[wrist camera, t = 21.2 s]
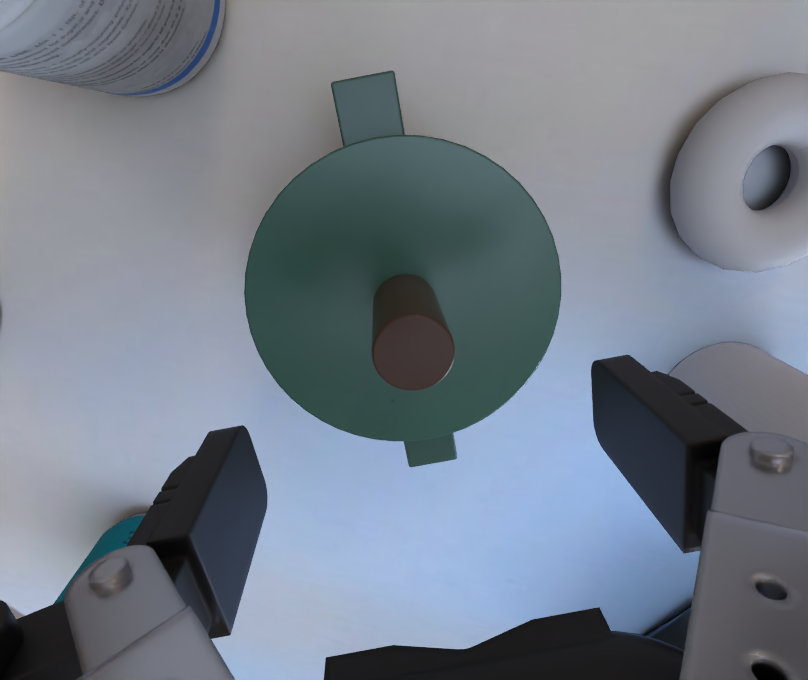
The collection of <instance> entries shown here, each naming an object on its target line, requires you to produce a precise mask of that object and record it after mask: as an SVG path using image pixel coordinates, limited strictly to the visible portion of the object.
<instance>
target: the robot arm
mask: <svg viewBox="0 0 808 680" xmlns="http://www.w3.org/2000/svg"><path fill="white" fill-rule="evenodd" d="M591 378H592V400H593V421H594V428H595V432H596V435H597V438H598V441H599V443H600V445H601V447H602V448H603V450H604V451H605V452H606V454H607V455H608V456H609V457H610V459H611V460H612V461H613V463H614V464H615V465H616V467H617V468H618V469H619V470H620V472H621V473H622V474H623V476H624V477H625V478H626V479H627V481H628V482H629V483H630V485H631V486H632V487H633V489H634V490H635V491H636V492H637V494H638V495H639V496H640V498H641V499H642V500H643V501H644V503H645V504H646V505H647V507H648V508H649V509H650V511H651V512H652V513H653V514H654V516H655V517H656V518H657V520H658V521H659V522H660V523H661V525H662V526H663V527H664V529H665V530H666V531H667V533H668V534H669V535H670V536H671V538H672V539H673V540H674V542H675V543H676V544H677V546H678V547H679V548H680V549H681V551H682V552H683V553H689V552H694V551H700V550H701V551H700V557H699V563H698V569H697V576H696V582H695V588H694V594H693V600H692V606H691V612H690V618H689V624H688V630H687V636H686V642H685V649H684V650H682V649H680V648H678V647H676V646H673V645H670V644H668V643H665V642H663V641H660V640H657V639H653V638H650V637H646V636H643V635H639V634H633V633H627V632H621V631H611V630H610V628H609V626H608V624H607V622H606V620H605V618H604V616H603V614H602V612H601V610H600V608H593V609H588V610H582V611H577V612H571V613H566V614H561V615H555V616H550V617H544V618H539V619H533V620H530V621H528V622H526V623H524V624H522V625H519V626H517V627H515V628H513V629H511V630H508V631H506V632H504V633H502V634H500V635H497V636H495V637H493V638H491V639H489V640H487V641H484V642H482V643H480V644H478V645H476V646H473V647H471V648H468V649H443V648H427V647H411V646H396V645H392V646H386V647H381V648H376V649H370V650H365V651H359V652H354V653H348V654H343V655H337V656H332V657H327V658H326V662H325V673H324V680H808V444H807V443H805V442H803V441H800V440H798V439H795V438H792V437H789V436H786V435H782V434H777V433H771V432H757V431H753V432H749V431H748V430H746V429H745V428H744V427H742V426H741V425H740V424H738V423H737V422H736V421H734V420H733V419H732V418H730V417H729V416H728V415H726V414H725V413H724V412H722V411H721V410H720V409H718V408H717V407H716V406H714V405H713V404H712V403H708V400H706V399H705V398H704V397H702V396H701V395H700V394H698V393H696V394H695V391H694V390H693V389H692V388H690V387H689V386H688V385H686V384H685V383H684V382H682V381H681V380H680V379H677V378H674V377H672V376H669V375H666V374H664V373H661V372H658V371H654V372H650V371H649V370H647V369H646V368H645V367H644V366H642V365H641V364H640V363H639V362H637V361H636V360H635V359H634V358H632V357H631V356H630V355H623V356H618V357H612V358H607V359H602V360H596V361H594V362H593V364H592V368H591ZM266 509H267V489H266V484H265V480H264V477H263V474H262V471H261V468H260V465H259V462H258V459H257V456H256V453H255V450H254V447H253V444H252V441H251V438H250V435H249V432H248V430H247V429H246V427H244V426H237V427H231V428H226V429H221V430H215V431H210V432H209V433H208V434H207V436H206V438H205V439H204V441H203V443H202V445H201V446H200V448H199V450H198V452H197V453H196V455H195V456H192V457H188V458H187V459H186V460H185V461H184V462H183V463H182V464H180V465H179V466H178V467H177V468H176V469H175V470H174V471H172V472H171V474H170V475H169V477H168V479H167V480H166V482H165V484H164V485H163V487H162V492H159V493H158V495H157V497H156V498H155V500H154V502H153V505H152V506H150V508H149V510H148V511H147V513H146V515H145V516H144V518H143V520H142V521H141V523H140V524H139V526H138V528H137V529H136V531H135V533H134V534H133V536H132V537H131V539H130V541H129V542H128V544H127V546H126V547H123V548H120V549H117V550H115V551H112V552H110V553H108V554H106V555H104V556H102V557H101V558H99V559H97V560H96V561H94V562H93V563H91V564H90V565H89V566H87V567H86V568H85V569H84V570H83V571H82V572H81V573H80V574H79V575H78V576H76V578H75V579H74V580H73V581H72V582H71V584H70V585H69V587H68V589H67V591H66V593H65V596H64V600H63V601H61V602H58V603H56V604H53V605H51V606H48V607H46V608H43V609H41V610H39V611H36V612H34V613H31V614H29V615H26V616H24V617H21V618H19V619H16V618H15V617H14V615H13V613H12V612H11V610H10V608H9V607H8V605H7V604H6V603H5V602H3V601H0V680H235V679H234V677H233V675H232V674H231V672H230V670H229V669H228V667H227V665H226V664H225V662H224V660H223V659H222V657H221V655H220V654H219V652H218V650H217V649H216V647H215V645H214V644H213V642H212V640H211V639H212V638H218V637H223V636H228V635H231V631H232V628H233V624H234V621H235V617H236V614H237V610H238V607H239V603H240V600H241V596H242V593H243V589H244V586H245V582H246V579H247V575H248V572H249V568H250V565H251V561H252V558H253V554H254V551H255V547H256V544H257V541H258V537H259V534H260V530H261V527H262V523H263V520H264V516H265V513H266Z"/></svg>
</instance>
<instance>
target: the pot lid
mask: <svg viewBox="0 0 808 680" xmlns="http://www.w3.org/2000/svg"><path fill="white" fill-rule="evenodd" d="M244 294H245V305H246V315H247V319H248V323H249V328H250V332H251V335H252V338H253V340H254V343H255V346H256V348H257V351H258V353H259V355H260V357H261V358H262V360H263V362H264V364H265V366H266V368H267V369H268V371H269V372H270V374H271V375H272V376H273V378H274V379H275V380H276V382H277V383H278V385H279V386H280V387H281V388H282V389H283V390H284V391H285V392H286V393H287V394H288V395H289V396H290V397H291V399H293V400H294V401H295V402H296V403H297V404H299V405H300V406H301V407H302V408H303V409H305V410H306V411H307V412H309V413H310V414H312V415H314V416H315V417H317V418H318V419H320V420H321V421H323V422H325V423H327V424H329V425H331V426H333V427H335V428H338V429H340V430H343V431H346V432H349V433H351V434H354V435H358V436H362V437H367V438H371V439H377V440H386V441H416V440H424V439H431V438H435V437H439V436H444V435H448V434H451V433H453V432H456V431H459V430H462V429H464V428H467V427H469V426H471V425H473V424H475V423H477V422H479V421H481V420H483V419H484V418H486V417H487V416H489V415H490V414H492V413H493V412H495V411H496V410H498V409H499V408H500V407H502V406H503V405H504V404H505V403H506V402H508V401H509V400H510V399H511V398H512V397H513V396H514V395H515V394H516V393H517V392H518V391H519V390H520V389H521V388H522V387H523V386H524V385H525V384H526V382H527V381H528V380H529V378H530V377H531V376H532V374H533V373H534V371H535V370H536V369H537V367H538V365H539V363H540V362H541V360H542V358H543V356H544V355H545V353H546V351H547V348H548V346H549V344H550V341H551V339H552V336H553V334H554V330H555V326H556V322H557V319H558V315H559V307H560V300H561V272H560V265H559V257H558V253H557V250H556V246H555V242H554V239H553V236H552V233H551V231H550V229H549V226H548V224H547V222H546V220H545V217H544V216H543V214H542V212H541V211H540V209H539V208H538V206H537V204H536V203H535V201H534V199H533V198H532V197H531V196H530V195H529V193H528V192H527V191H526V190H525V189H524V187H523V186H522V185H521V184H520V183H519V182H518V181H517V180H516V179H515V178H514V177H513V176H511V175H510V174H509V173H508V172H507V171H506V170H505V169H504V168H502V167H501V166H499V165H498V164H496V163H495V162H493V161H492V160H490V159H489V158H487V157H486V156H484V155H482V154H480V153H478V152H476V151H474V150H472V149H470V148H468V147H466V146H463V145H460V144H456V143H453V142H450V141H447V140H444V139H438V138H432V137H426V136H419V135H393V136H385V137H376V138H371V139H368V140H364V141H360V142H356V143H352V144H350V145H348V146H345V147H343V148H340V149H338V150H336V151H333V152H331V153H329V154H328V155H326V156H324V157H323V158H321V159H319V160H318V161H316V162H314V163H313V164H311V165H310V166H308V167H307V168H306V169H305V170H304V171H302V172H301V173H300V174H299V175H297V176H296V177H295V178H294V179H293V180H292V181H291V182H290V183H289V184H288V185H287V186H286V187H285V188H284V189H283V190H282V192H281V193H280V194H279V195H278V196H277V198H276V199H275V200H274V202H273V203H272V205H271V206H270V208H269V209H268V211H267V212H266V214H265V216H264V218H263V219H262V221H261V223H260V225H259V227H258V229H257V231H256V234H255V237H254V240H253V243H252V246H251V249H250V252H249V256H248V262H247V267H246V272H245V292H244Z"/></svg>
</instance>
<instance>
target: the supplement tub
mask: <svg viewBox="0 0 808 680" xmlns="http://www.w3.org/2000/svg"><path fill="white" fill-rule="evenodd" d="M224 15H225V0H0V71H3V72H8V73H13V74H18V75H23V76H28V77H33V78H38V79H43V80H48V81H53V82H58V83H63V84H68V85H73V86H78V87H83V88H87V89H92V90H97V91H102V92H107V93H112V94H119V95H126V96H151V95H157V94H161V93H165V92H168V91H170V90H173V89H175V88H177V87H179V86H181V85H183V84H184V83H186V82H187V81H189V80H190V79H191V78H193V77H194V76H195V75H196V74H197V73H198V72H199V71H200V70H201V69H202V67H203V66H204V65H205V64H206V62H207V61H208V60H209V58H210V56H211V55H212V53H213V51H214V49H215V47H216V45H217V43H218V40H219V37H220V34H221V30H222V26H223V21H224Z"/></svg>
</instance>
